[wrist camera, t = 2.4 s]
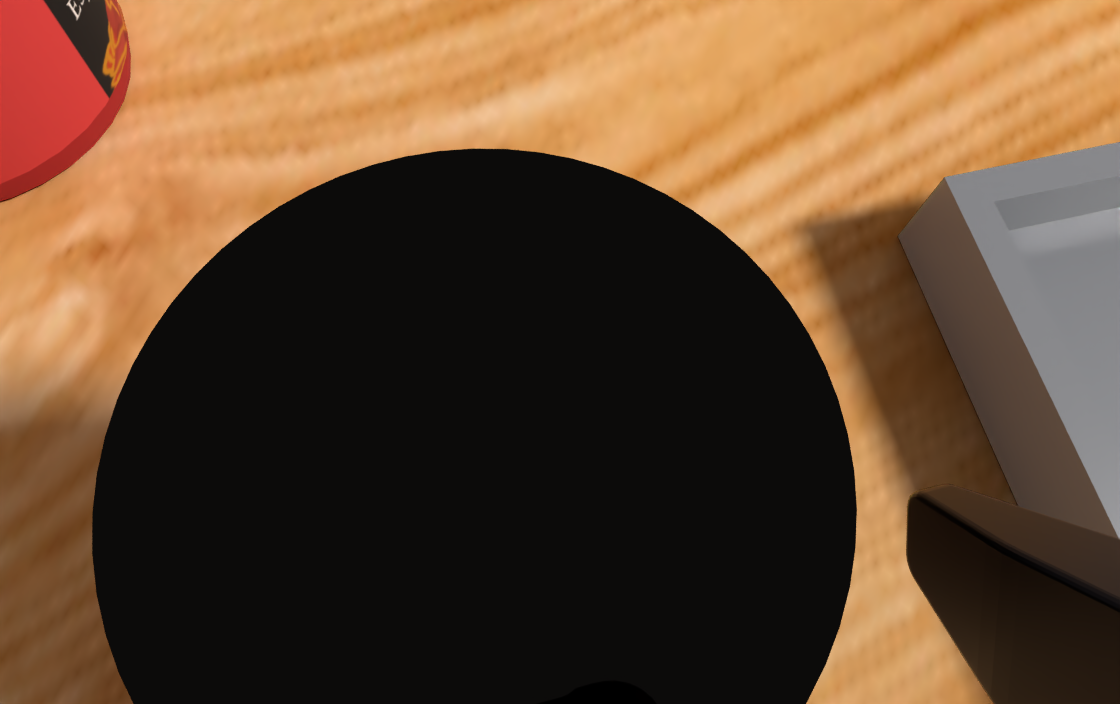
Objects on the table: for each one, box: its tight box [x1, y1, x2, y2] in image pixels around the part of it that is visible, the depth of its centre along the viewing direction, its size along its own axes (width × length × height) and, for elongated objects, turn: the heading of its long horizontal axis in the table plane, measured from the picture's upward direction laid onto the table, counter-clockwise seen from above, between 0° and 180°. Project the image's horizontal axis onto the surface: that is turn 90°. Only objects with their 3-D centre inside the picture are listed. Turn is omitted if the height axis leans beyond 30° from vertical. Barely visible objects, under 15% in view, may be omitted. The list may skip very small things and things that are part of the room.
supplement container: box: [92, 149, 857, 704], centre depth 13 cm, size 7×7×10 cm
